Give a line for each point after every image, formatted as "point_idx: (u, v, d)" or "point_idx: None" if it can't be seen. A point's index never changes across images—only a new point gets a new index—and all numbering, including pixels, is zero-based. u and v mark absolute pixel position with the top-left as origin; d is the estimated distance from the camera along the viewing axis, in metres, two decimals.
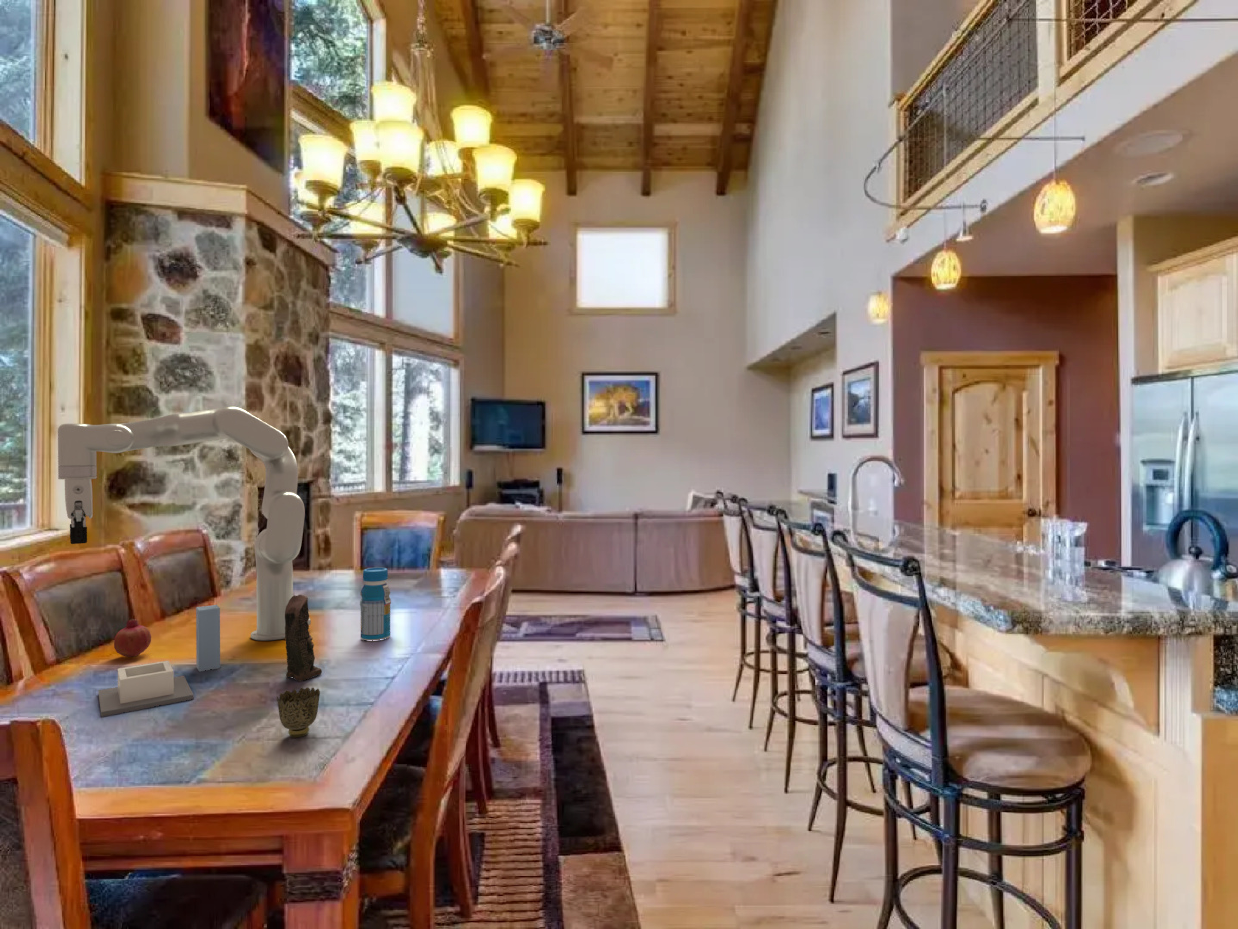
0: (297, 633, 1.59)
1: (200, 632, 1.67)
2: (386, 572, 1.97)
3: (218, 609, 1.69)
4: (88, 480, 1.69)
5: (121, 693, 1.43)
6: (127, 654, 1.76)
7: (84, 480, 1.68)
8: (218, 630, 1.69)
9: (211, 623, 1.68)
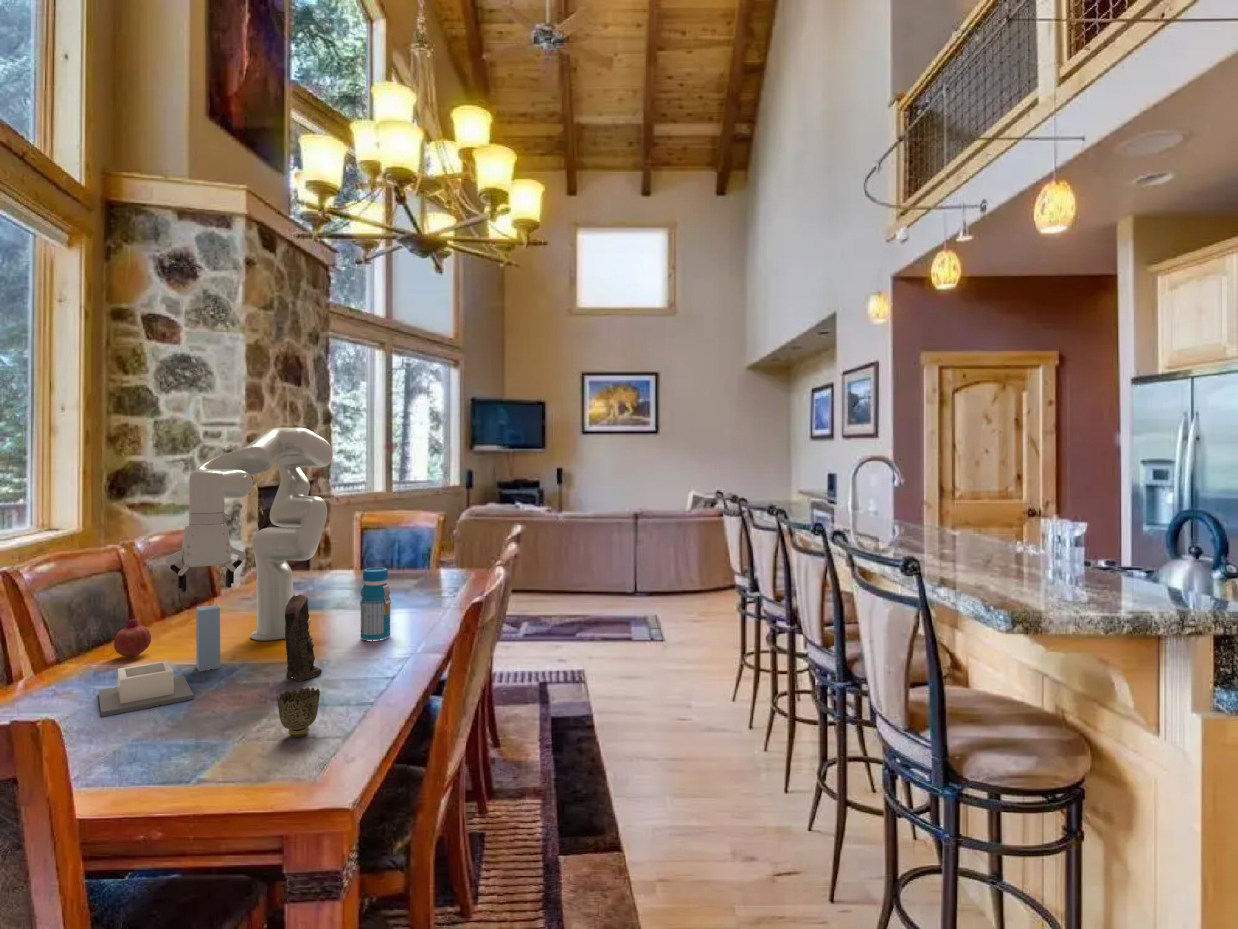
0: (298, 633, 1.59)
1: (200, 632, 1.67)
2: (386, 572, 1.97)
3: (218, 609, 1.69)
4: None
5: (121, 693, 1.43)
6: (127, 654, 1.76)
7: None
8: (218, 630, 1.69)
9: (211, 623, 1.68)
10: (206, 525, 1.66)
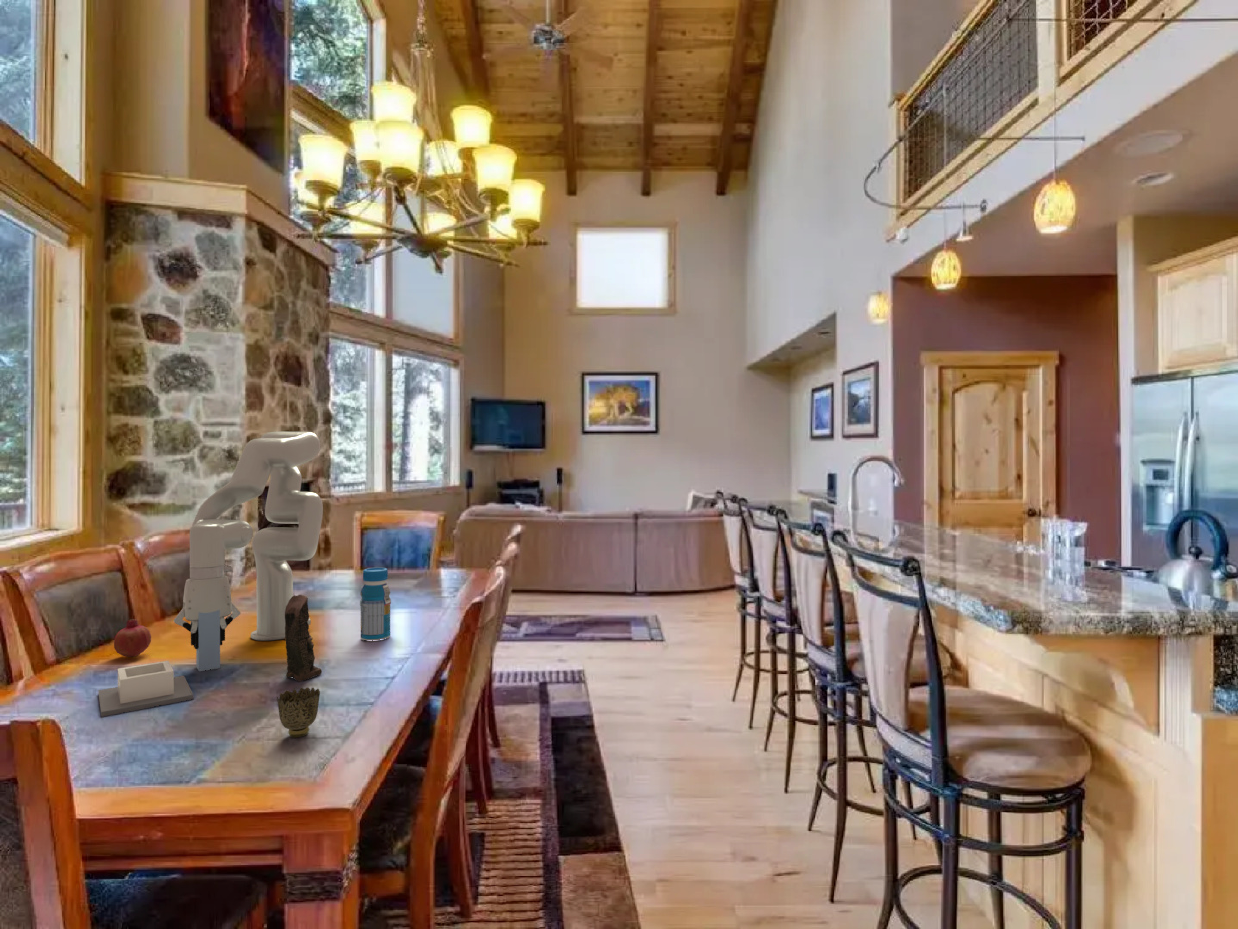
0: (297, 633, 1.59)
1: (200, 632, 1.67)
2: (386, 572, 1.97)
3: None
4: None
5: (121, 693, 1.43)
6: (127, 654, 1.76)
7: None
8: (218, 630, 1.69)
9: (211, 623, 1.68)
10: (207, 579, 1.66)
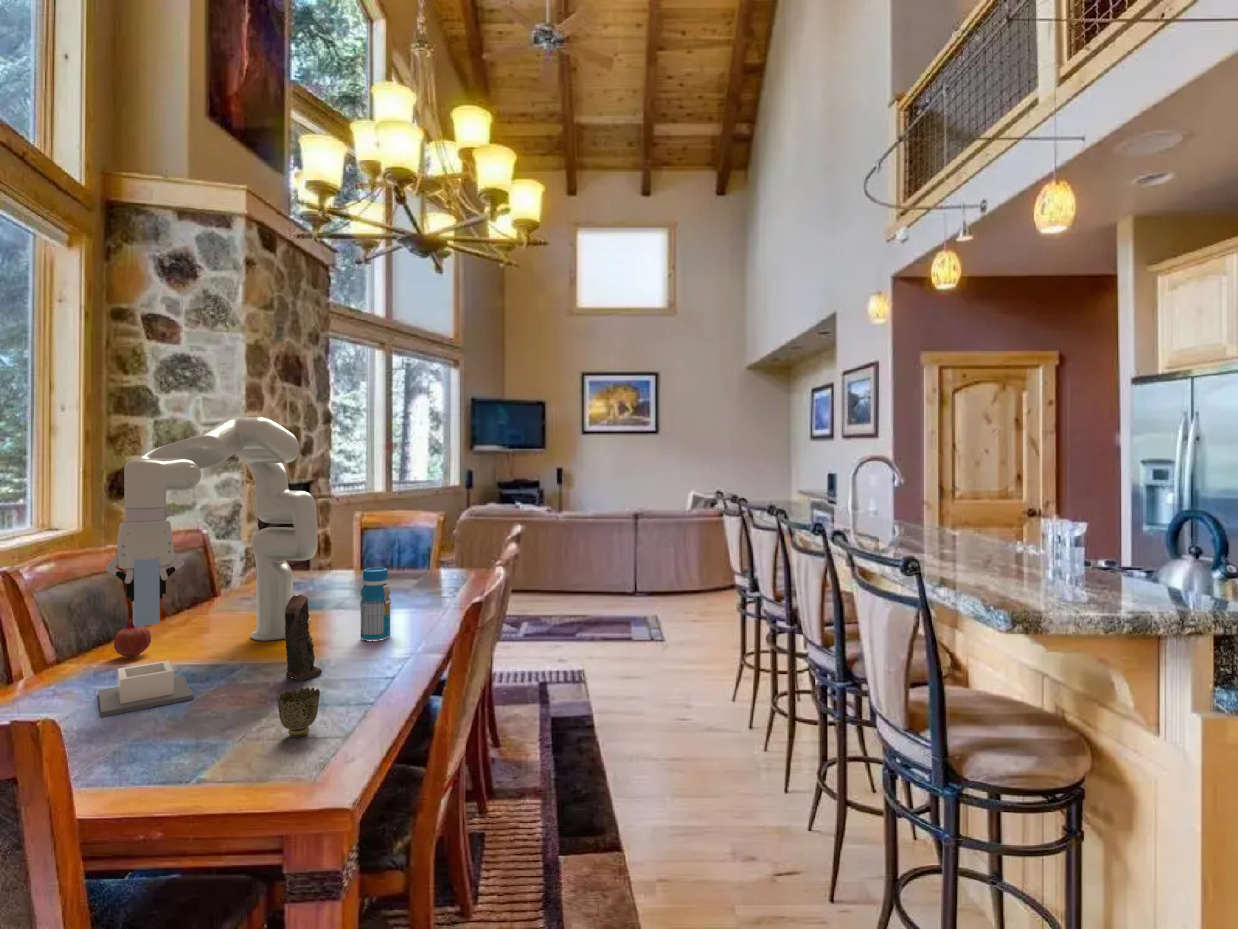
0: (298, 633, 1.59)
1: (136, 582, 1.47)
2: (386, 572, 1.97)
3: (157, 557, 1.49)
4: None
5: (121, 693, 1.43)
6: (127, 654, 1.76)
7: None
8: (157, 580, 1.49)
9: (149, 572, 1.48)
10: (143, 522, 1.46)
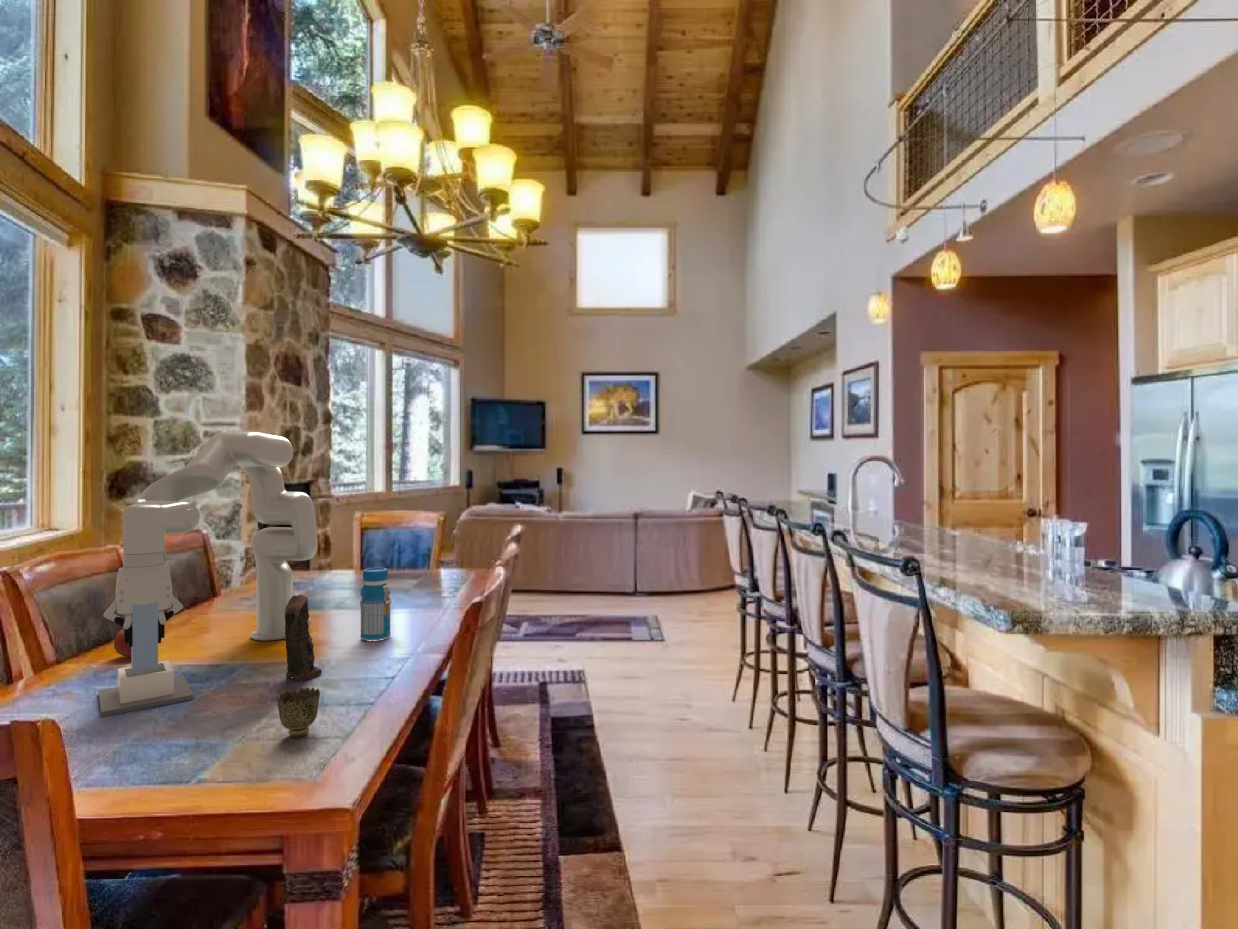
0: (298, 633, 1.59)
1: (134, 627, 1.46)
2: (386, 572, 1.97)
3: (156, 601, 1.49)
4: None
5: (121, 693, 1.43)
6: (127, 654, 1.76)
7: None
8: (156, 625, 1.49)
9: (148, 617, 1.48)
10: (142, 567, 1.46)
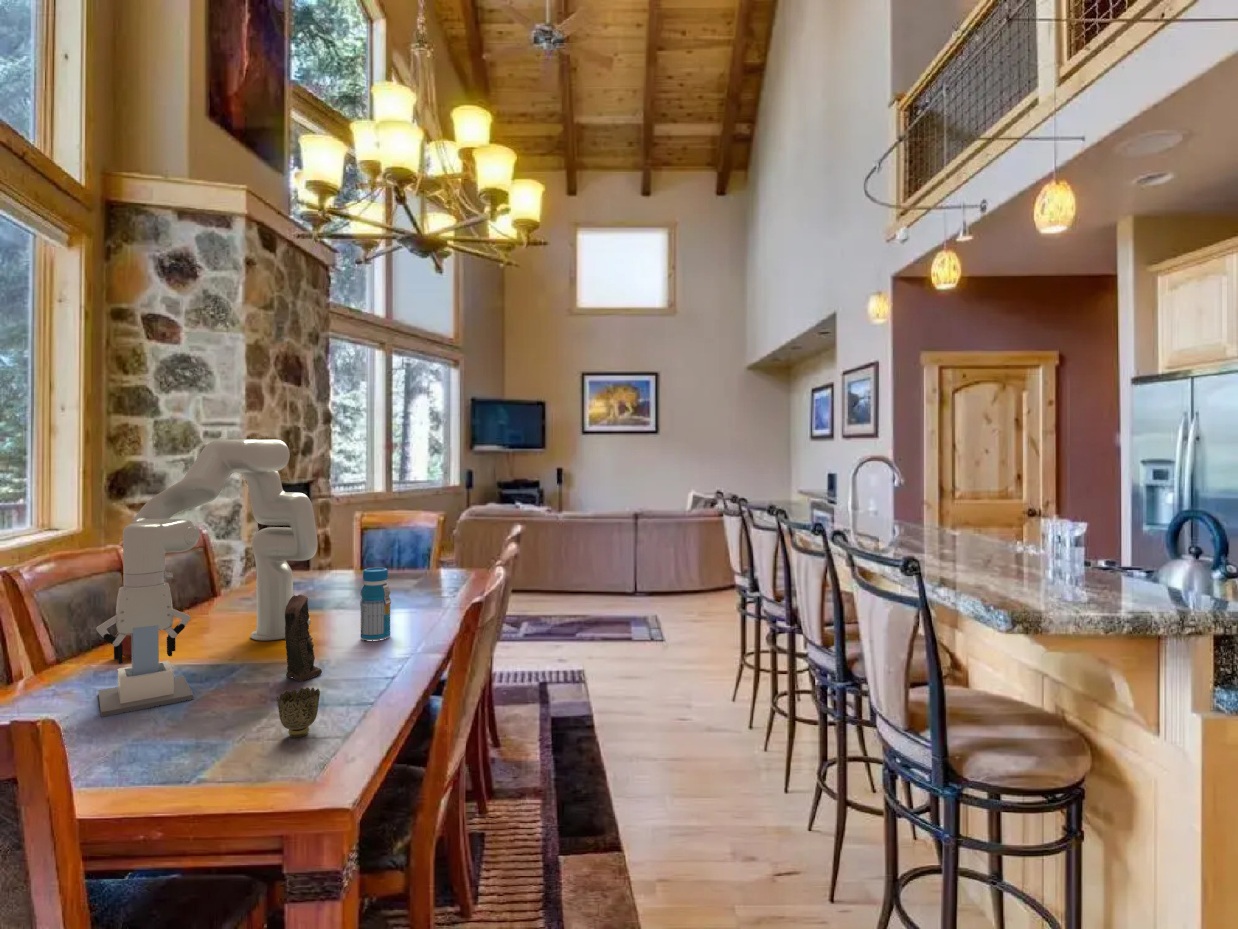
0: (298, 633, 1.59)
1: (135, 653, 1.47)
2: (386, 572, 1.97)
3: (156, 626, 1.49)
4: None
5: (121, 693, 1.43)
6: (127, 654, 1.76)
7: None
8: (156, 650, 1.49)
9: (148, 642, 1.48)
10: (142, 587, 1.46)
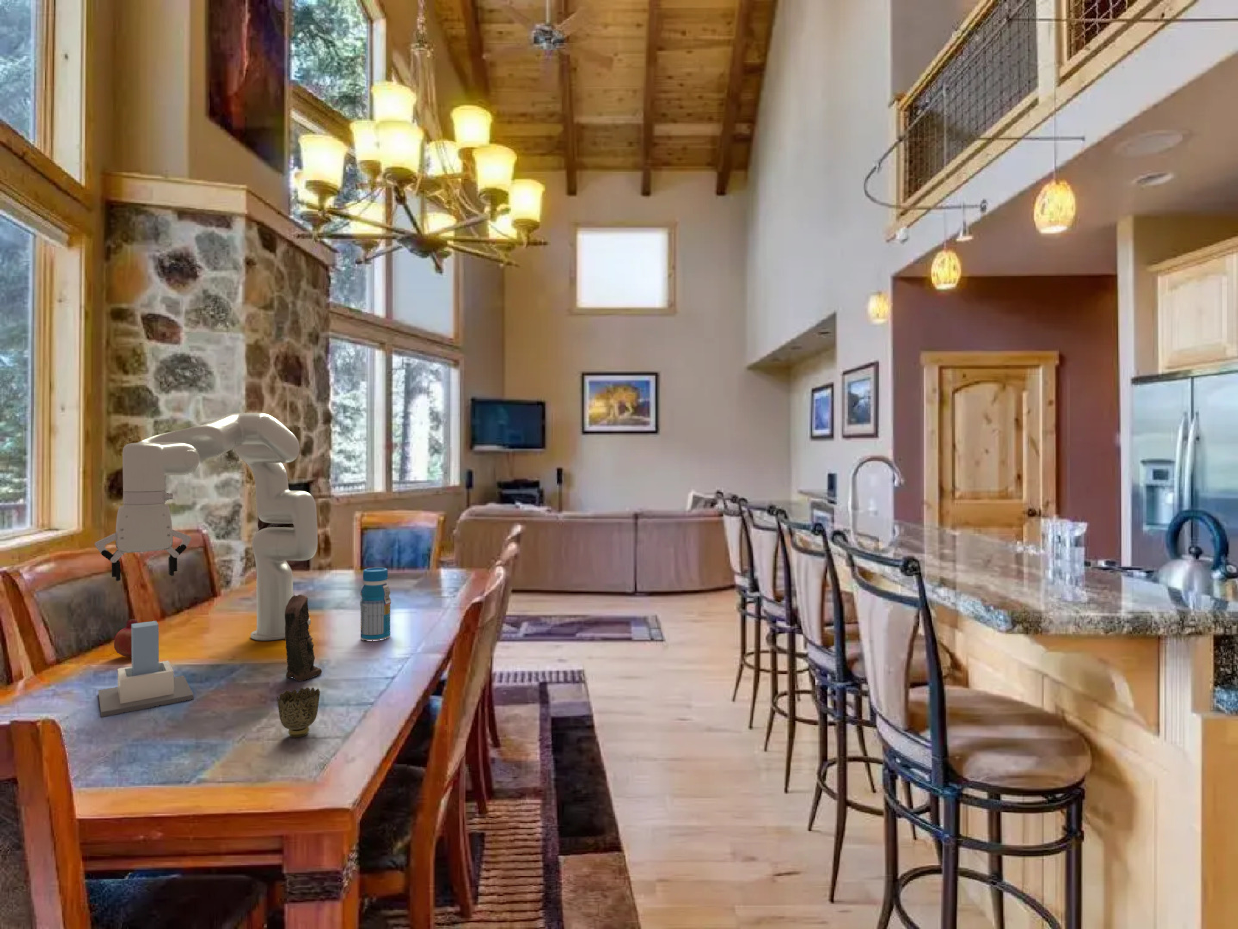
0: (297, 633, 1.59)
1: (135, 653, 1.47)
2: (386, 572, 1.97)
3: (156, 626, 1.49)
4: None
5: (121, 693, 1.43)
6: (127, 654, 1.76)
7: None
8: (156, 650, 1.49)
9: (148, 642, 1.48)
10: (142, 505, 1.46)
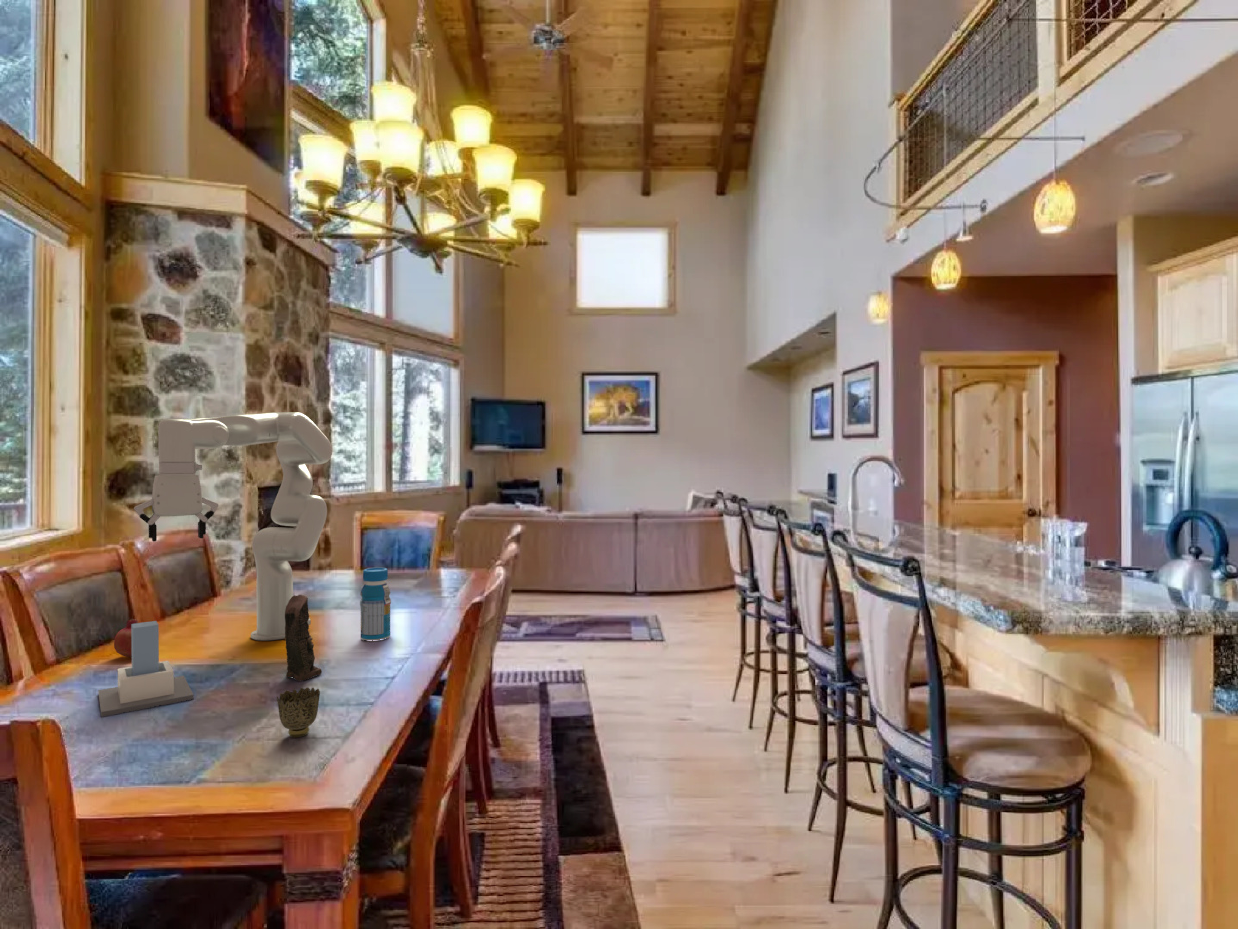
0: (297, 633, 1.59)
1: (135, 653, 1.47)
2: (386, 572, 1.97)
3: (156, 626, 1.49)
4: None
5: (121, 693, 1.43)
6: (127, 654, 1.76)
7: None
8: (156, 650, 1.49)
9: (148, 642, 1.48)
10: (176, 474, 1.64)
